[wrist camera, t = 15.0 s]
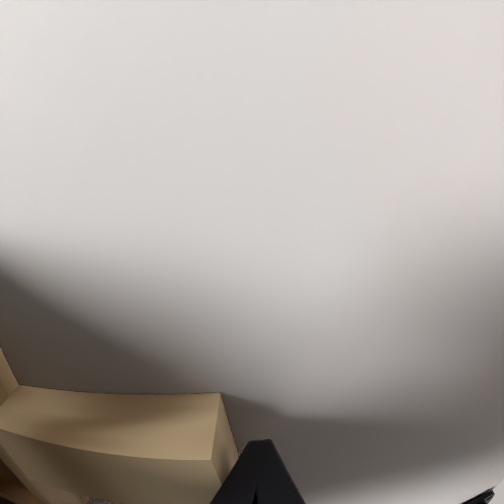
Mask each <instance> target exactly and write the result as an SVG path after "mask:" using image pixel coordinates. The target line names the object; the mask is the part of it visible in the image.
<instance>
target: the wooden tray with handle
mask: <svg viewBox="0 0 504 504" xmlns="http://www.w3.org/2000/svg"><path fill="white" fill-rule="evenodd" d="M237 460H238V451H237V448H236V445H235V441H234V438H233V435H232V431H231V428H230V424H229V421H228V418H227V414H226V411H225V407H224V404H223V400H222V396H221V393H220V392H219V393H202V394H172V395H134V394H106V393H89V392H76V391H65V390H55V389H46V388H38V387H31V386H24V385H19V384H18V382H17V380H16V378H15V376H14V374H13V372H12V370H11V368H10V366H9V364H8V362H7V360H6V358H5V356H4V354H3V352H2V349H1V347H0V496H1V497H3V498H5V499H7V500H9V501H11V502H13V503H15V504H88V501H89V499H90V498H94V499H98V500H103V501H107V502H112V503H118V504H210V502H211V501H212V499H213V498H214V496H215V495H216V493H217V492H218V490H219V489H220V487H221V485H222V484H223V482H224V481H225V479H226V478H227V476H228V474H229V473H230V471H231V470H232V468H233V466H234V465H235V463H236V462H237Z"/></svg>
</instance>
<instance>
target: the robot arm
mask: <svg viewBox="0 0 504 504" xmlns="http://www.w3.org/2000/svg"><path fill="white" fill-rule="evenodd" d="M493 496H494V492H493V490H491V491H489V492H487V493H486V494H484V495H482V496H480V497H478V498H476V499H474V500H472V501H470V502H468V503H466V504H488V503H489V501H490V500H491V499H492V498H493ZM210 504H305V502H304V500H303V499H302V497H301V495H300V493H299V491H298V489H297V488H296V486H295V484H294V482H293V480H292V478H291V476H290V475H289V473H288V471H287V469H286V467H285V465H284V463H283V461H282V459H281V457H280V455H279V454H278V452H277V450H276V448H275V446H274V444H273V442H272V440H271V439H264V440H253V441H249V442H248V443H247V445H246V447H245V448H244V450H243V452H242V453H241V455H240V457H239V458H238V460H237V462H236V463H235V465H234V466H233V468H232V470H231V471H230V473H229V474H228V476H227V478H226V479H225V481H224V482H223V484H222V485H221V487H220V489H219V490H218V492H217V493H216V495H215V496H214V498H213V499H212V501H211V502H210Z"/></svg>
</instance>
